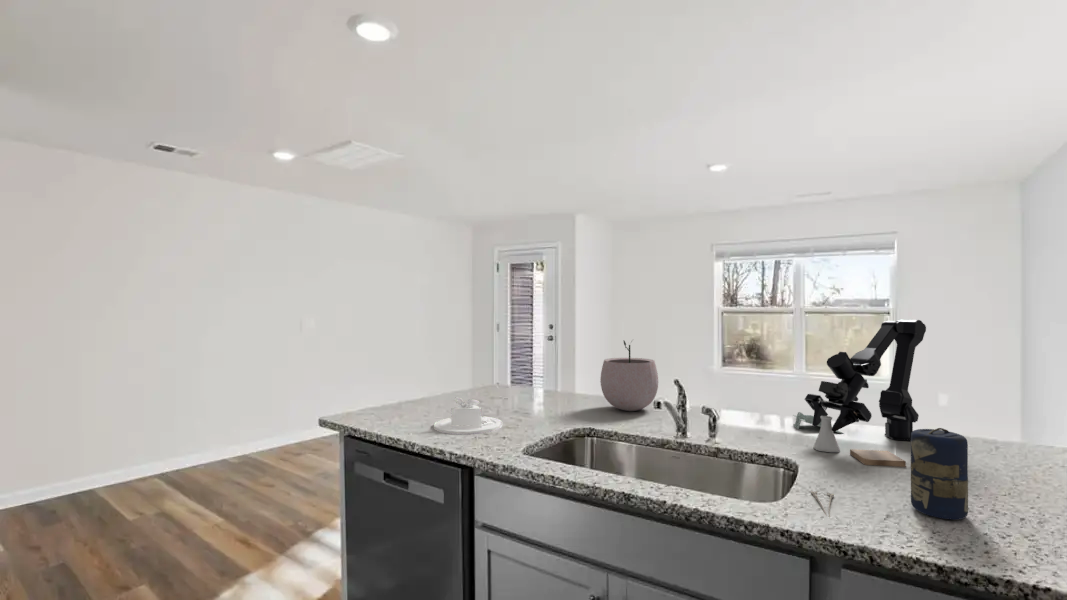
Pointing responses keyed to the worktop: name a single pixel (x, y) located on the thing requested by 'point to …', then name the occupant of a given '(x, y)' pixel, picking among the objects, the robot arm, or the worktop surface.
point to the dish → (467, 419)
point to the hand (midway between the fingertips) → (823, 428)
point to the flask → (826, 437)
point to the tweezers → (820, 502)
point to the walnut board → (877, 458)
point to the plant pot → (629, 382)
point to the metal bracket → (806, 420)
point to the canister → (939, 473)
